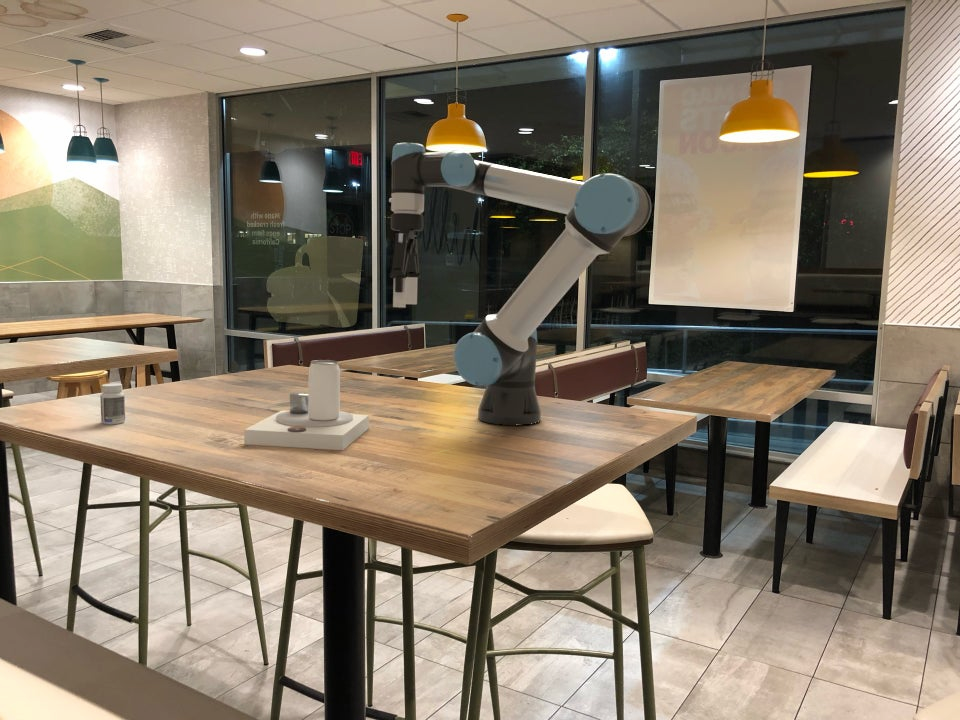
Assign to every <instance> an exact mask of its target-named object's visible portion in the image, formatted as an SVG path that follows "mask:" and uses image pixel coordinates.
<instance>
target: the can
mask: <svg viewBox="0 0 960 720" xmlns="http://www.w3.org/2000/svg"><path fill="white" fill-rule="evenodd" d="M338 363H339V362H338V361H336V360H329V359H325V360H323V359H319V360H311V361H310V365H309V367H308V377H307V380H308V382H307V383H308V384H307V385H308V389H307V390H308V391H307V393H308V417H309V418H310V419H311V420H314V421H333V420H337V419H338V417H339V416H340V411H341V410H340V409H341V408H340V406H341V402H340V401H341V369H340V366H339V364H338Z"/></svg>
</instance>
